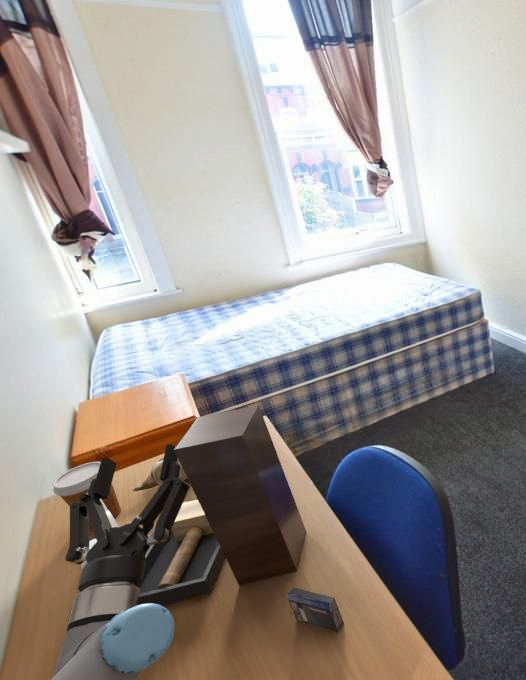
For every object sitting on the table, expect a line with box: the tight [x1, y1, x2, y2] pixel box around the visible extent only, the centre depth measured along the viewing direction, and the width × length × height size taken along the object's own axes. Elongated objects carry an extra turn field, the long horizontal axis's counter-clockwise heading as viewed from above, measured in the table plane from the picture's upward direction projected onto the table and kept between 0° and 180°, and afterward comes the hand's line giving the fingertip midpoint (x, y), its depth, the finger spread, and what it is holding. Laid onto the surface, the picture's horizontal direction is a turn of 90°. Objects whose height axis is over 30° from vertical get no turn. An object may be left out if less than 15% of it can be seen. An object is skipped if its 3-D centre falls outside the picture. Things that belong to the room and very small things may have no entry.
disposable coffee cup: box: [52, 461, 122, 526], centre depth 104 cm, size 10×10×12 cm
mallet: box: [157, 499, 214, 589], centre depth 91 cm, size 20×8×5 cm, turn 13°
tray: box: [137, 497, 227, 606], centre depth 93 cm, size 26×15×3 cm, turn 13°
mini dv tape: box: [286, 587, 345, 633], centre depth 75 cm, size 8×2×6 cm, turn 72°
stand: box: [174, 404, 307, 587], centre depth 84 cm, size 10×10×30 cm
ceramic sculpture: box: [132, 457, 188, 492], centre depth 114 cm, size 11×9×15 cm
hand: (141, 454), depth 83 cm, fingers open, 10 cm apart
